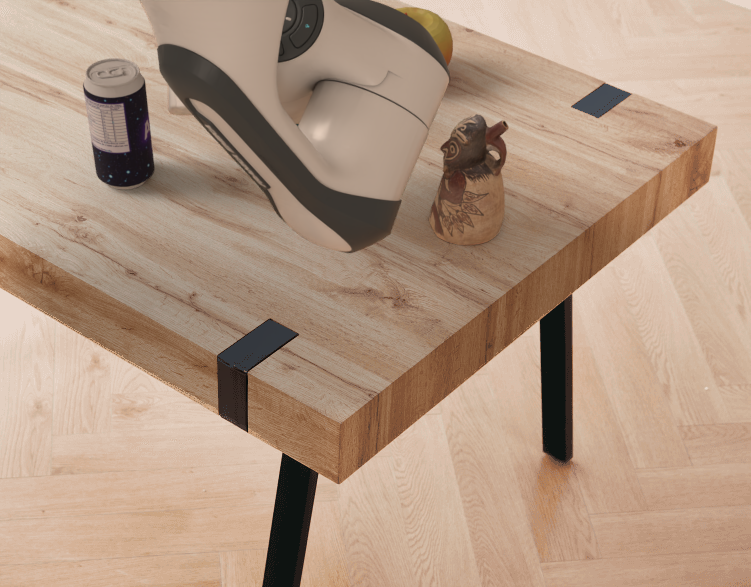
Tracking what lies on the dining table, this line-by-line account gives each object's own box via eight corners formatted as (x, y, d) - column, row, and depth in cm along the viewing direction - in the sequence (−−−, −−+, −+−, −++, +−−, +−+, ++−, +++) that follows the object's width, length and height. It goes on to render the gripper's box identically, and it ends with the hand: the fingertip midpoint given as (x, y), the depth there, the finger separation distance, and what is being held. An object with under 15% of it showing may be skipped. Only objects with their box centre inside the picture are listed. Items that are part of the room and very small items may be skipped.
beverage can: (160, 188, 106) (149, 82, 98) (102, 198, 105) (86, 91, 97) (148, 157, 110) (137, 52, 102) (92, 166, 109) (76, 60, 101)
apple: (350, 66, 126) (352, 3, 120) (420, 48, 130) (425, -14, 124) (394, 106, 120) (398, 41, 114) (466, 86, 124) (473, 22, 118)
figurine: (440, 195, 108) (451, 90, 100) (509, 210, 106) (526, 106, 98) (420, 236, 103) (430, 130, 95) (492, 253, 101) (509, 147, 93)
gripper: (397, 36, 93) (383, 77, 107) (157, 35, 91) (174, 76, 105) (398, 109, 93) (384, 140, 106) (158, 108, 91) (174, 140, 105)
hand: (278, 109), depth 106 cm, fingers open, 8 cm apart
